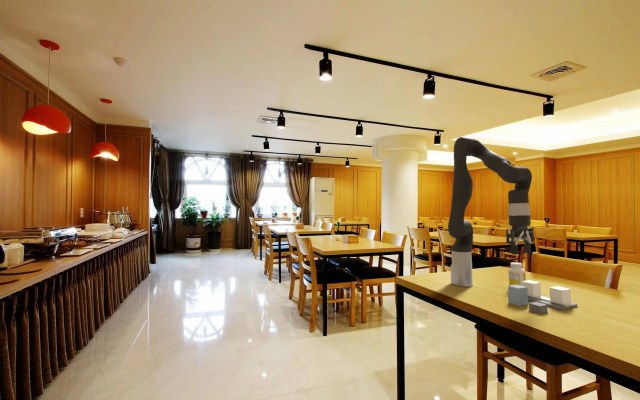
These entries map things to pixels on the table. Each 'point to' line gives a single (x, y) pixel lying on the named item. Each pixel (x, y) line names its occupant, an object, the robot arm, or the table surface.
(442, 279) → the table surface
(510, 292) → the block
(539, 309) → the dark grey block
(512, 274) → the supplement bottle
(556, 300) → the din rail
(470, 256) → the robot arm
